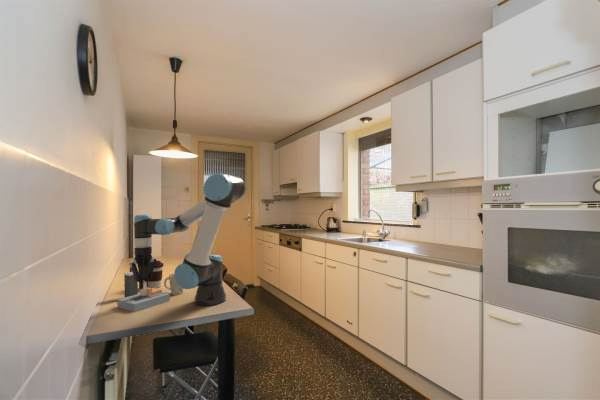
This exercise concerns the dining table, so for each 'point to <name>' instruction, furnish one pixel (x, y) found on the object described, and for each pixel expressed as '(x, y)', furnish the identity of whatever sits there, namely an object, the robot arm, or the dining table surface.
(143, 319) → the dining table surface
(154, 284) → the coffee cup
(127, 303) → the socket plate
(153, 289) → the block
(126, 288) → the plug
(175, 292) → the mug
